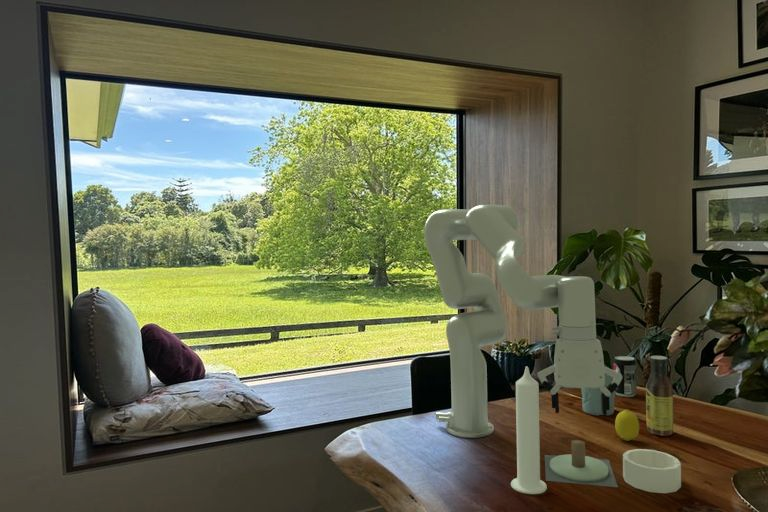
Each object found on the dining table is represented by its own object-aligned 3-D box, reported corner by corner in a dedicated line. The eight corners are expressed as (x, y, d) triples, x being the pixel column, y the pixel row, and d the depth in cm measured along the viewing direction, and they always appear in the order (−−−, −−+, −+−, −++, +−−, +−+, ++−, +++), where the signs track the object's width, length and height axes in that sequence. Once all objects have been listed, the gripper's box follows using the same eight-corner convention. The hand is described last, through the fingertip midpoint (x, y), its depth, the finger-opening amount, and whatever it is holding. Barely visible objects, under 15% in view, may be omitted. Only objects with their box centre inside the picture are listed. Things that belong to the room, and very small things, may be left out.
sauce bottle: (649, 427, 144) (649, 353, 144) (675, 431, 140) (675, 355, 140) (643, 434, 139) (642, 357, 139) (670, 439, 135) (669, 360, 135)
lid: (550, 479, 113) (550, 450, 113) (548, 456, 125) (548, 431, 125) (612, 484, 110) (611, 455, 110) (604, 460, 122) (604, 434, 122)
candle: (540, 479, 114) (538, 362, 114) (551, 495, 107) (549, 370, 107) (507, 480, 114) (505, 363, 113) (516, 496, 107) (514, 371, 106)
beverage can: (613, 391, 179) (613, 355, 178) (635, 393, 176) (635, 356, 176) (614, 396, 172) (613, 359, 172) (637, 398, 170) (636, 360, 170)
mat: (545, 482, 113) (545, 480, 113) (544, 456, 126) (544, 454, 126) (618, 489, 109) (618, 487, 109) (608, 461, 123) (608, 459, 123)
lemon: (642, 446, 131) (641, 413, 131) (617, 445, 132) (617, 412, 132) (636, 438, 137) (635, 406, 136) (612, 436, 138) (612, 405, 137)
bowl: (628, 491, 108) (627, 466, 108) (620, 470, 118) (620, 447, 118) (686, 497, 105) (686, 471, 105) (672, 474, 115) (672, 451, 115)
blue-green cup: (573, 408, 162) (572, 368, 162) (601, 404, 165) (600, 365, 165) (596, 418, 152) (595, 376, 152) (625, 414, 155) (625, 372, 155)
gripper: (536, 336, 116) (538, 415, 116) (623, 336, 111) (626, 419, 111) (535, 330, 123) (538, 406, 123) (617, 331, 118) (620, 409, 118)
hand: (580, 412), depth 117 cm, fingers open, 9 cm apart
